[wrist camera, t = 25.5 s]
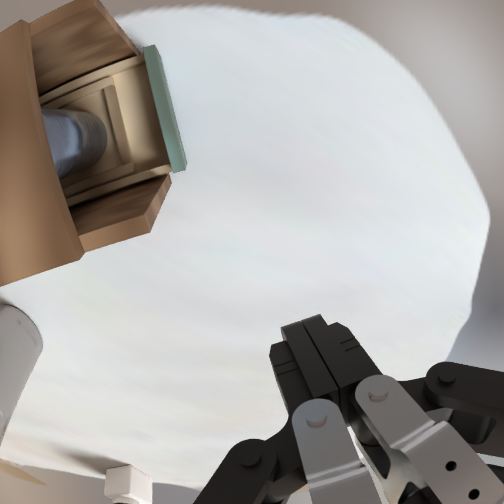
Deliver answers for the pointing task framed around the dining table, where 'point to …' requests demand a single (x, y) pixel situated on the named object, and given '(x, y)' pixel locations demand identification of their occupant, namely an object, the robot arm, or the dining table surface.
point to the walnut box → (38, 150)
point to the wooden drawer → (124, 124)
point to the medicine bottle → (128, 486)
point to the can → (74, 139)
